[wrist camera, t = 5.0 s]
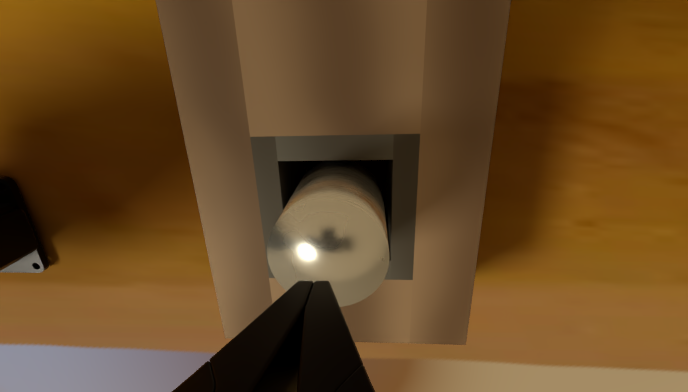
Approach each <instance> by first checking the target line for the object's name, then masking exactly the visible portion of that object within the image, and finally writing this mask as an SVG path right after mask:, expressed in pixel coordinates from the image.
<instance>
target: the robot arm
mask: <svg viewBox="0 0 688 392" xmlns="http://www.w3.org/2000/svg"><path fill="white" fill-rule="evenodd" d="M48 267H49V262H48V260H47V257H46V255H45V253H44V250H43V248H42V245H41V243H40V240H39V238H38V236H37V233H36V231H35V228H34V226H33V223H32V221H31V218H30V216H29V214H28V211H27V209H26V206H25V204H24V201H23V199H22V196H21V194H20V192H19V189H18V187H17V184H16V183H15V181H14V180H13V179H12V178H10V177H6V176H0V272H25V273H40V272H43V271H44V270H46V269H47V268H48ZM172 392H375V390H374V388H373V386H372V384H371V382H370V379H369V377H368V375H367V372H366V370H365V367H364V366H363V363H362V360H361V358H360V355H359V353H358V350H357V348H356V345H355V343H354V341H353V338H352V336H351V333H350V331H349V328H348V326H347V323H346V321H345V318H344V316H343V313H342V311H341V309H340V306H339V304H338V301H337V299H336V296H335V294H334V291H333V289H332V286H331V284H330V282H329V281H315V282H313V281H308V280H300V281H298V282H296V283H295V284H294V285H293V286H292V287H291V288H290V289H288V290H287V291H286V292H285V293H284V294H283V295H282V296H281V297H279V298H278V299H277V300H276V301H275V302H274V303H273V304H272V305H270V306H269V307H268V308H267V309H266V310H265V311H264V312H263V313H261V314H260V315H259V316H258V317H257V318H256V319H255V320H253V321H252V322H251V323H250V324H249V325H248V326H247V327H246V328H244V329H243V330H242V331H241V332H240V333H239V334H238V335H237V336H235V337H234V338H233V339H232V340H231V341H230V342H229V343H228V344H226V345H225V346H224V347H223V348H222V349H221V350H220V351H219V352H217V353H216V354H215V355H214V356H213V357H212V358H211V359H210V362H208V361H207V362H206V363H205V364H204V365H203V366H201V367H200V368H199V369H198V370H197V371H196V372H195V373H194V374H192V375H191V376H190V377H189V378H188V379H187V380H185V381H184V382H183V383H182V384H181V385H180V386H178V387H177V388H176V389H175V390H173V391H172Z"/></svg>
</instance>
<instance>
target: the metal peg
mask: <svg viewBox="0 0 688 392" xmlns="http://www.w3.org/2000/svg"><path fill="white" fill-rule="evenodd" d="M267 258H268V263H269V266H270V269H271V271H272V273H273V275H274V277H275V279H276V280H277V281H278V283H279V284H280V285H281V286H282V287H283V288H284V289H285V290H286V291H287V290H288V289H290V288H291V287H292V286H293V285H294V284H295V283H296V282H298V281H300V280H308V281H313V282H315V281H329V282H330V284H331V286H332V289H333V291H334V294H335V296H336V299H337V301H338V304H339V306H340V307H343V306H348V305H352V304H355V303H357V302H360V301H362V300H363V299H365V298H367V297H368V296H370V295H371V294H372V293H373V292H374V291H375V290H377V288H378V287H379V286H380V285H381V283H382V282H383V280H384V278H385V276H386V274H387V271H388V267H389V259H390V257H389V245H388V236H387V227H386V218H385V209H384V200H383V194H382V189H381V187H380V184H379V182H378V181H377V179H376V178H375V176H374V175H373V174H372V173H371V172H370V171H369V170H368V169H366V168H365V167H364V166H362V165H360V164H358V163H356V162H353V161H350V160H327V161H324V162H321V163H319V164H317V165H315V166H314V167H312V168H311V169H310V170H308V171H307V172H306V174H305V175H304V176H303V177H302V179H301V181H300V182H299V184H298V186H297V188H296V189H295V191H294V193H293V195H292V196H291V198H290V200H289V201H288V203H287V205H286V207H285V208H284V210H283V212H282V214H281V215H280V217H279V219H278V221H277V222H276V224H275V226H274V227H273V229H272V231H271V234H270V236H269V240H268V244H267Z"/></svg>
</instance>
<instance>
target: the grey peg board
mask: <svg viewBox="0 0 688 392" xmlns="http://www.w3.org/2000/svg"><path fill="white" fill-rule="evenodd" d="M156 4H157V9H158V14H159V19H160V24H161V29H162V34H163V38H164V43H165V48H166V53H167V58H168V63H169V67H170V72H171V77H172V82H173V87H174V92H175V97H176V101H177V106H178V111H179V116H180V121H181V126H182V131H183V135H184V140H185V145H186V150H187V155H188V160H189V164H190V169H191V174H192V179H193V184H194V189H195V194H196V198H197V203H198V208H199V213H200V218H201V223H202V228H203V232H204V237H205V242H206V247H207V252H208V257H209V262H210V266H211V271H212V276H213V281H214V286H215V291H216V295H217V300H218V305H219V310H220V315H221V320H222V325H223V329H224V334H225V338H234V337H235V336H237V335H238V334H239V333H240V332H241V331H242V330H243V329H244V328H246V327H247V326H248V325H249V324H250V323H251V322H252V321H253V320H255V319H256V318H257V317H258V316H259V315H260V314H261V313H263V312H264V311H265V310H266V309H267V308H268V307H269V306H270V305H272V304H273V303H274V302H275V301H276V300H277V299H278V298H279V297H281V296H282V295H283V294H284V293H285V292H286V290H285V289H284V288H283V287H282V286H281V285H280V284H279V283H278V281H277V280H276V279H275V277H274V275H273V273H272V271H271V269H270V266H269V263H268V258H267V244H268V240H269V236H270V234H271V231H272V229H273V227H274V226H275V224H276V222H277V221H278V219H279V217H280V215H281V214H282V212H283V210H284V208H285V207H286V205H287V203H288V201H289V200H290V198H291V196H292V195H293V193H294V191H295V189H296V188H297V186H298V184H299V182H300V181H301V179H302V177H303V176H304V170H303V161H325V160H386V207H385V218H386V227H387V236H388V245H389V257H390V259H389V267H388V271H387V274H386V276H385V278H384V280H383V282H382V283H381V285H380V286H379V287H378V288H377V290H375V291H374V292H373V293H372V294H371V295H370V296H368V297H367V298H365V299H363V300H362V301H360V302H357V303H355V304H352V305H348V306H343V307H340V309H341V311H342V313H343V316H344V318H345V321H346V323H347V326H348V328H349V331H350V333H351V336H352V338H353V341H354V342H380V343H417V344H453V345H466V340H467V332H468V324H469V317H470V309H471V301H472V294H473V286H474V279H475V271H476V263H477V256H478V248H479V240H480V233H481V225H482V218H483V210H484V202H485V195H486V187H487V179H488V172H489V164H490V157H491V149H492V141H493V134H494V126H495V119H496V111H497V103H498V96H499V88H500V80H501V73H502V65H503V58H504V50H505V42H506V35H507V27H508V19H509V12H510V4H511V0H156Z"/></svg>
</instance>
